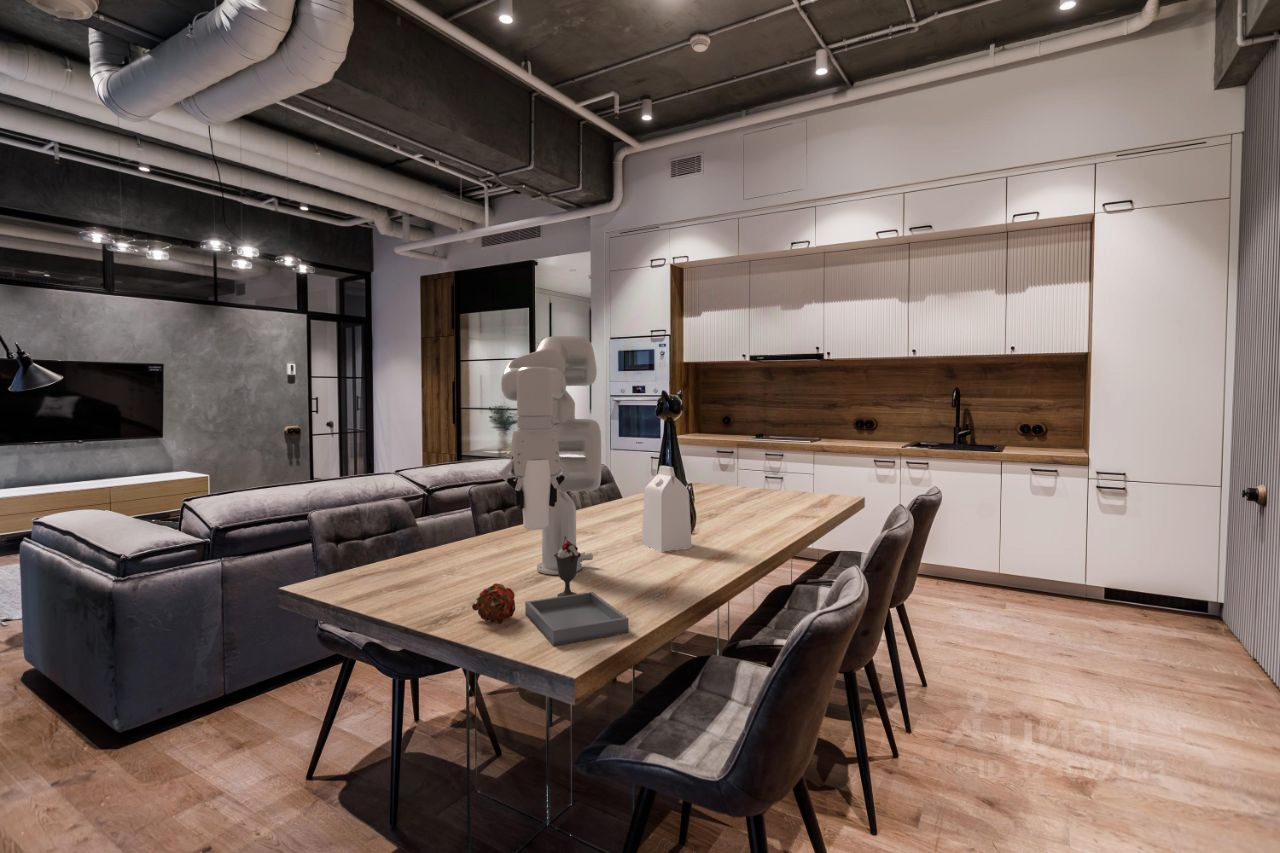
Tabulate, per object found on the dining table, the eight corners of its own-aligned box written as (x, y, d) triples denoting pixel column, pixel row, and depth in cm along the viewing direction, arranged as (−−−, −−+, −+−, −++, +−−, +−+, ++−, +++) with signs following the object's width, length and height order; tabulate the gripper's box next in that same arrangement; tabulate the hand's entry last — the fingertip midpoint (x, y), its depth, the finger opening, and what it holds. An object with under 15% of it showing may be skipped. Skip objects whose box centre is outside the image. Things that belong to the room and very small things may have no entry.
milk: (691, 548, 205) (691, 467, 204) (661, 552, 199) (661, 469, 198) (671, 541, 215) (671, 464, 214) (641, 545, 210) (641, 466, 208)
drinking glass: (544, 531, 135) (543, 460, 134) (514, 530, 136) (513, 460, 136) (556, 525, 141) (555, 457, 141) (527, 524, 143) (526, 457, 142)
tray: (592, 604, 149) (592, 591, 149) (628, 632, 131) (628, 618, 131) (525, 614, 142) (525, 601, 142) (553, 646, 124) (553, 630, 124)
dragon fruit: (501, 637, 133) (486, 628, 143) (531, 607, 136) (514, 600, 147) (475, 608, 131) (462, 600, 142) (506, 578, 135) (491, 573, 145)
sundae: (559, 601, 151) (558, 538, 151) (550, 594, 157) (549, 533, 157) (585, 597, 154) (584, 535, 154) (575, 590, 160) (574, 530, 160)
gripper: (568, 423, 145) (568, 501, 146) (491, 424, 138) (492, 507, 138) (578, 424, 138) (579, 507, 139) (498, 425, 131) (499, 513, 132)
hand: (535, 506), depth 139 cm, fingers closed on drinking glass, 6 cm apart
